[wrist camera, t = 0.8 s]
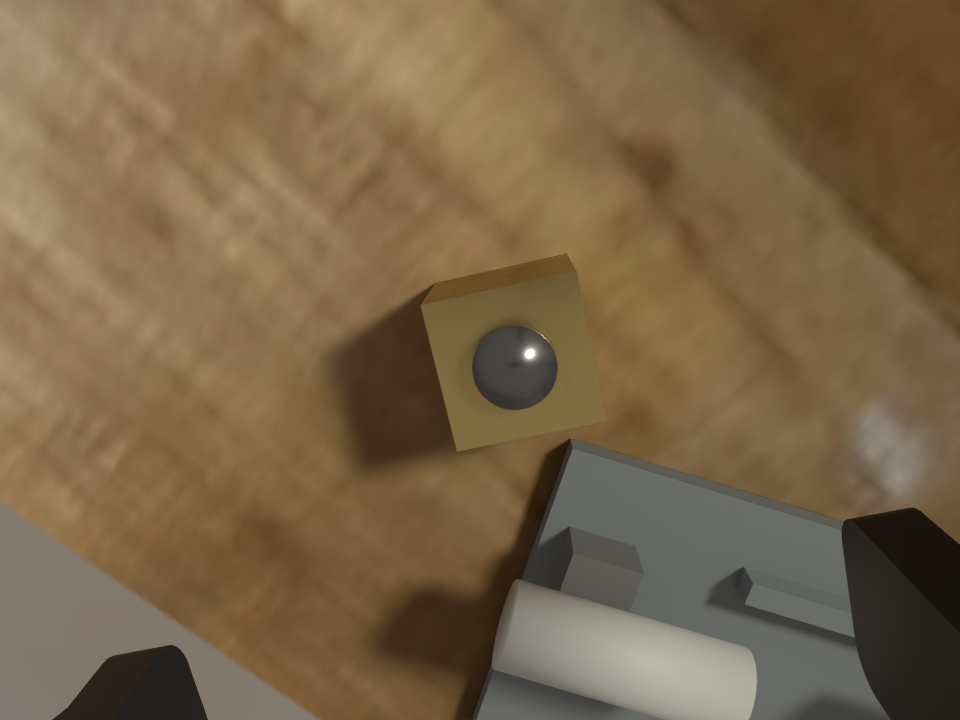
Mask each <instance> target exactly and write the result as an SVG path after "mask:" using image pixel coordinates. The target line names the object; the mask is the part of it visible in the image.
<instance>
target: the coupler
mask: <svg viewBox="0 0 960 720" xmlns="http://www.w3.org/2000/svg"><path fill="white" fill-rule="evenodd" d="M421 309H422V313H423V317H424V321H425V325H426V330H427V334H428V338H429V342H430V346H431V350H432V354H433V358H434V362H435V366H436V370H437V374H438V378H439V382H440V386H441V390H442V394H443V398H444V402H445V406H446V410H447V414H448V418H449V422H450V426H451V430H452V434H453V438H454V442H455V446H456V450H457V452H458V451H463V450H468V449H473V448H478V447H483V446H487V445H492V444H497V443H502V442H507V441H512V440H517V439H522V438H527V437H532V436H537V435H541V434H546V433H551V432H556V431H561V430H566V429H571V428H576V427H581V426H586V425H590V424H595V423H600V422H605V421H607V419H606V414H605V409H604V404H603V399H602V394H601V389H600V385H599V380H598V375H597V370H596V365H595V360H594V355H593V350H592V345H591V340H590V335H589V331H588V326H587V321H586V316H585V311H584V306H583V301H582V296H581V291H580V286H579V281H578V276H577V272H576V269H575V268H574V266H573V264H572V262H571V260H570V259H569V257H568V255H567V254H563V255H558V256H554V257H549V258H545V259H540V260H536V261H531V262H527V263H522V264H518V265H514V266H509V267H505V268H500V269H496V270H491V271H487V272H482V273H478V274H473V275H469V276H464V277H460V278H456V279H451V280H447V281H442V282H438V283H435V284H434V286H433V287H432V289H431V290H430V292H429V293H428V295H427V296H426V298H425V299H424V301H423V302H422V304H421Z"/></svg>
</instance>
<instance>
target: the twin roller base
mask: <svg viewBox="0 0 960 720" xmlns="http://www.w3.org/2000/svg"><path fill="white" fill-rule="evenodd" d="M843 523H844V522H842V521H839V520H836V519H833V518H829V517H826V516H823V515H820V514H816V513H813V512H810V511H806V510H803V509H800V508H797V507H793V506H790V505H787V504H784V503H780V502H777V501H774V500H770V499H767V498H764V497H761V496H757V495H754V494H751V493H748V492H744V491H741V490H738V489H734V488H731V487H728V486H725V485H721V484H718V483H715V482H712V481H708V480H705V479H702V478H698V477H695V476H692V475H689V474H685V473H682V472H679V471H675V470H672V469H669V468H666V467H662V466H659V465H656V464H653V463H649V462H646V461H643V460H639V459H636V458H633V457H630V456H626V455H623V454H620V453H617V452H613V451H610V450H607V449H603V448H600V447H597V446H594V445H590V444H587V443H584V442H581V441H577V440H574V439H570V442H569V445H568V448H567V451H566V453H565V456H564V459H563V462H562V465H561V468H560V470H559V473H558V476H557V479H556V482H555V485H554V487H553V490H552V493H551V496H550V499H549V502H548V504H547V507H546V510H545V513H544V516H543V518H542V521H541V524H540V527H539V530H538V533H537V535H536V538H535V541H534V544H533V547H532V550H531V552H530V555H529V558H528V561H527V564H526V567H525V569H524V572H523V575H522V578H521V580H520V579H516V580H515V581H514V582H513V584H512V586H511V588H510V590H509V593H508V595H507V598H506V601H505V604H504V607H503V610H502V614H501V617H500V621H499V625H498V629H497V633H496V638H495V643H494V648H493V656H492V663H491V666H490V668H489V671H488V674H487V677H486V680H485V683H484V685H483V688H482V691H481V694H480V697H479V700H478V702H477V705H476V708H475V711H474V714H473V717H472V719H471V720H891V719H890V718H889V716H888V715H887V713H886V712H885V710H884V709H883V708H882V706H881V705H880V703H879V702H878V700H877V699H876V697H875V695H874V693H873V692H872V690H871V688H870V685H869V683H868V681H867V679H866V676H865V674H864V671H863V668H862V665H861V662H860V659H859V655H858V652H857V647H856V642H855V636H854V629H853V621H852V614H851V606H850V599H849V591H848V584H847V576H846V569H845V561H844V554H843V546H842V526H843Z"/></svg>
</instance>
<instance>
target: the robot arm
mask: <svg viewBox="0 0 960 720" xmlns="http://www.w3.org/2000/svg"><path fill="white" fill-rule="evenodd" d="M842 546H843V554H844V561H845V569H846V576H847V584H848V591H849V599H850V606H851V614H852V621H853V629H854V636H855V642H856V647H857V652H858V655H859V659H860V662H861V665H862V668H863V671H864V674H865V676H866V679H867V681H868V683H869V685H870V688H871V690H872V692H873V693H874V695H875V697H876V699H877V700H878V702H879V703H880V705H881V706H882V708H883V709H884V710H885V712H886V713H887V715H888V716H889V718H890V719H891V720H960V545H959V544H958V543H957V542H956V541H955V540H953V539H952V538H951V537H950V536H949V535H948V534H946V533H945V532H944V531H943V530H942V529H941V528H939V527H938V526H937V525H936V524H935V523H934V522H932V521H931V520H930V519H929V518H928V517H927V516H925V515H924V514H923V513H922V512H921V511H919V510H918V509H916V508H906V509H900V510H895V511H890V512H884V513H879V514H874V515H868V516H863V517H858V518H852V519H847V520H845V521H844V523H843V526H842ZM53 720H208V719H207V716H206V713H205V710H204V707H203V704H202V701H201V699H200V696H199V693H198V690H197V687H196V684H195V681H194V679H193V676H192V673H191V670H190V667H189V664H188V662H187V659H186V657H185V656H184V654H183V653H182V651H181V650H180V649H179V648H177V647H176V646H173V645H168V646H163V647H158V648H152V649H147V650H142V651H136V652H131V653H125V654H120V655H115V656H112V657H110V658H108V659H107V660H106V661H105V662H104V663H103V664H102V665H101V667H100V668H99V669H98V670H97V672H96V673H95V674H94V676H93V677H92V678H91V679H90V680H89V682H88V683H87V684H86V685H85V687H84V688H83V689H82V690H81V692H80V693H79V694H78V695H77V697H76V698H75V699H74V700H73V702H72V703H71V704H70V705H69V707H68V708H67V709H65V710H64V711H63V712H62V713H60V714H59V715H58V716H57V717H55V718H54V719H53Z"/></svg>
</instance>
